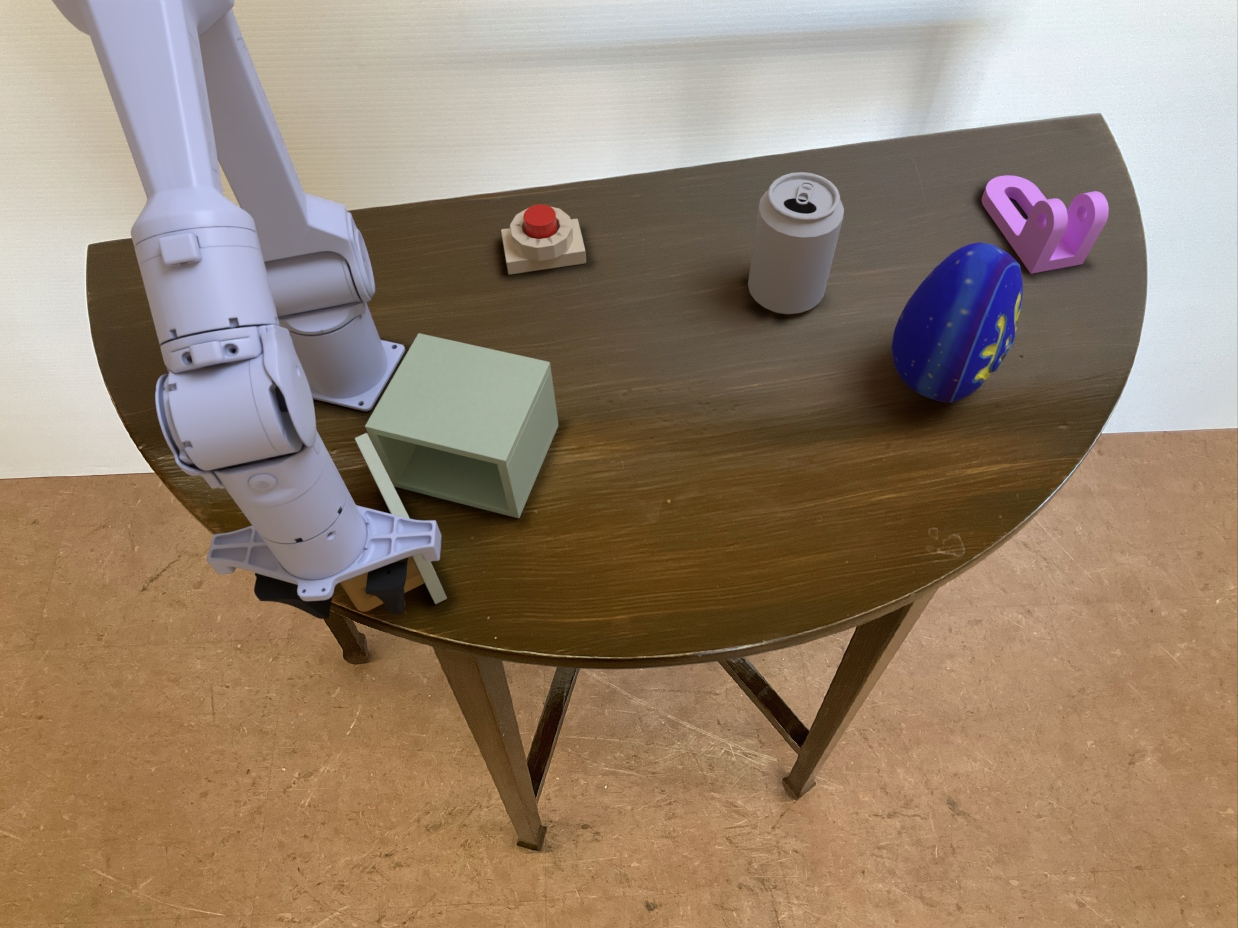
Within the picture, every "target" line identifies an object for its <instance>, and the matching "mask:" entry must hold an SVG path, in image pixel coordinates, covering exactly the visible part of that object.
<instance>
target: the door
mask: <svg viewBox="0 0 1238 928" xmlns="http://www.w3.org/2000/svg"><path fill="white" fill-rule="evenodd" d="M354 441H355V442H356V444H357V447H358V449H359V450H360V451H359V452H360V453H361V455H362V457H363V460H364V461H365V463H366V465H367V467H368V470H369V471H370V474H371V475H372V478H373V480H374V482H375V484H376V486H377V488H378V490H379V492H380V494H381V496H382V498H383V501H384V502H385V505H386V506H387V508H388V510H389V514H393V515H397V516H400V517H404V518H409V519H411V518H410V516H409V514H408V512H407V510H406V508H405V506H404V504H403V502H402V500H401V498H400V496H399V494H398V492H397V490H396V487H394V486H393V484H392V482H391V480H390V478H389V476H388V474H387V472H386V470H385V468H384V466H383V464H382V462H381V460H380V458H379V456H378V454H377V452H376V450H375V448H374V446H373V443H372V441H371V439H370V437H369V435H368V432H365V433H363V434H360V435H359V436H356V437H354ZM367 575H368V572H366V573H364V574H361V575H358V576H356V577H353V578H350V579H348V580H345V581H342V582H340V583H339V584H340V586H341V588H342V589H343V591H344V592H345V593H346V595H347V597H348V598H349V600H350V601H351V603H352V604H353V605H354V607H355V609H357V611H359V612H363V613H364V612H365V613H366V612H369V611H372V610H373V609H375V608H378V607H379V606H381V605H384V603H383V602H382V601H381V600H380V599H379V598H378V597H376V596H374V595H371V594H366V592H365V590H366V582H367ZM424 584H425V587H426V588H427V591H428V593H429V595H430V596H431V599H432V601H433V602H434V604H435V605H437V604H440V603H442V602H443V601H445V600H447V599H448V597H447V594H446V593H445V590H444V588H443V585H442V583H441V581H440V579H439V577H438V575H437V572H436V571H435V568H434V566H433V564H432V561H424V559H423V557H422V555H421V554H417V555H413V556H410V557H408V564H407V574H406V582H405V586H404V594H406V593H407V592H409V591H412V590H413V589H416V588H418V587H419V586H422V585H424Z"/></svg>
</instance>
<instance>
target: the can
mask: <svg viewBox="0 0 1238 928" xmlns="http://www.w3.org/2000/svg"><path fill="white" fill-rule="evenodd" d="M844 208H845V207H844V205H843V202H842V200H841V194H840V192H839V188H838V187H836V185H835V184H834V183H833V182H832V181H830V180H828V179H827V178H826V177H824V176H821V175H819V174H816V173H812V172H805V171H804V172H803V171H800V172H799V171H798V172H791V173H787V174H784V175H781V176H779V177H777V178H776V179H775V180H773V181H772V182H771V184H770V186H769V187H768V189H767V190H766V191H765V192H764V194H763V195H762V196H761V197H760V200H759V204H758V209H757V216H756V225H755V232H754V238H753V246H752V253H751V258H750V259H751V260H750V265H749V266H750V267H749V274H748V281H747V287H748V291H749V294H750V295H751V297H752V298H753V300H754V301H755V302H757V304H759V305H760V306H762V307H763V308H765V309H767V310H769V311H771V312H774V313H776V314H781V315H792V314H801V313H804V312H807V311H810V310H812V309H813V308H815V307H816V306H817V305H819V304H820V303H821V302H822V299H823V298H824V296H825V293H826V288H827V286H828V282H829V277H830V273H831V270H832V264H833V260H834V256H835V253H836V249H837V245H838V242H839V241H838V240H839V238H840V237H839V236H840V232H841V228H842V225H843V220H844V215H845V209H844Z"/></svg>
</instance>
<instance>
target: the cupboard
mask: <svg viewBox="0 0 1238 928" xmlns="http://www.w3.org/2000/svg"><path fill="white" fill-rule="evenodd" d="M551 366H552V365H551V362H550V361H547V360H542V359H538V358H535V357H534V358H533V357H529V356H525V355H520V354H515V353H511V352H506V351H501V350H497V349H492V348H488V347H483V346H479V345H474V344H469V343H465V342H460V341H456V340H451V339H448V338H442V337H439V336H438V337H437V336H433V335H429V334H424V333H419V332H418V333H417V334H416V337H414V340H413V342H412V344H411V345H410V347H409V349H408V350H407V352H406V354H405V356H404V357H403V359H402V361H401V363H400V364H399V366H398V368H397V369H396V371H395V373H394V375H393V377H392V378H391V380H390V382H389V384H388V386H387V387H386V389H385V390H384V392H383V394H382V395H381V397H380V399H379V401H378V403H377V404H376V406H375V408H374V409H373V412H372V413H371V414H370V417H369V418H368V420H367V422H366V423H365V425H364V428H365V430H366V433H367V434H368V436H369V438H370V440H371V442H372V444H373V446H374V448H375V450H376V452H377V454H378V456H379V458H380V460H381V462H382V464H383V466H384V468H385V470H386V472H387V474H388V476H389V478H390V480H391V482H392V484H393V486H394V488H398V489H402V490H407V491H410V492H414V493H419V494H421V495H425V496H430V497H433V498H437V499H441V500H445V501H449V502H453V503H457V504H461V505H465V506H468V507H473V508H476V509H481V510H483V511H484V510H485V511H489V512H491V513H496V514H500V515H503V516H507V517H511V518H514V519H515V518H516V519H520V518H521V515H522V513H523V511H524V508H525V506H526V503H527V502H528V499H529V496H530V494H531V491H532V489H533V487H534V485H535V483H536V480H537V477H538V476H539V473H540V471H541V469H542V468H541V467H542V466H543V463H544V461H545V459H546V457H547V454H548V451H549V449H550V446H551V445H552V441H553V440H554V437H555V435H556V432H557V430H558V428H559V417H558V410H557V405H556V404H557V403H556V396H555V388H554V381H553V375H552V367H551Z"/></svg>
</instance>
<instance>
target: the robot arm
mask: <svg viewBox="0 0 1238 928" xmlns="http://www.w3.org/2000/svg"><path fill="white" fill-rule="evenodd" d="M51 1H52V2H53V4H54V5H55V7H56V8H57V9H58V11H59V13H61V15H62V16H63V17H64V18H65V19H66V20H67V22H69V24H71V25H72V26H73V27H74V28H75V29H77V30H78V31H80V32H81V33H83V34H85V35H87V36H89V37H90V40H91V43H92V46H93V48H94V49H93V50H94V51H95V54H96V57H97V60H98V63H99V66H100V69H101V72H102V74H103V77H104V81H105V83H106V86H107V88H108V91H109V95H110V98H111V100H112V103H113V105H114V109H115V111H116V114H117V116H118V120H119V123H120V125H121V128H122V131H123V134H124V136H125V140H126V142H127V146H128V148H129V151H130V153H131V156H132V160H133V162H134V165H135V168H136V170H137V173H138V177H139V179H140V182H141V185H142V188H143V190H144V193H145V196H146V201H145V202H146V203H145V204H144V206H143V208H142V210H141V211H140V213H139V214H138V216H137V218H136V219H135V221H134V222H133V225H132V226H131V228H130V237H131V240H132V244H133V247H134V248H133V249H134V252H135V256H136V259H137V264H138V267H139V271H140V275H141V278H142V282H143V287H144V290H145V294H146V297H147V302H148V305H149V309H150V313H151V317H152V320H153V325H154V329H155V333H156V336H157V340H158V343H159V349H160V352H161V356H162V360H163V362H164V365H165V367H166V370H167V372H168V373H164V374H162V375H160V376H159V378H158V379H157V381H156V385H155V391H154V393H155V394H154V400H155V410H156V415H157V419H158V423H159V426H160V429H161V433H162V434H163V438H164V440H165V442H166V444H167V446H168V448H169V449H170V451H171V453H172V456H173V458H174V460H175V461H174V462H175V463H176V465H177V466H178V468H179V469H180V470H181V471H182V472H183V473H185V474H187V475H189V476H192V477H199V476H200V477H202V478H203V479H204V481H206V483H207V485H208V486H209V487H210V488H211V489H212V490H214V489H220V490H222V489H225V490H226V492H227V493H228V494H229V496H230V497H231V498H232V500H233V501H234V503H235V504H236V505H237V506H238V508H239V509H240V510H241V513H242V514H243V515H244V516H245V517H246V519H247V520H248V522H249V524H251V525H250V526H247V527H243V528H240V529H237V530H234V531H229V532H222V533H214V534H212V536H211V540H210V544H209V549H208V553H207V556H206V562H207V563H208V565H210V566H211V568H212V569H213V570H214V572H215V573H216V574H217V575H218V576H220V575H221V576H222V575H232V574H234V573H235V572H236V570H237V569H239V570H242V571H247V572H251V573H254V576H255V582H254V587H253V593H254V595H255V597H256V598H257V599H258V601H260V602H272V603H278V604H279V603H280V604H284V605H287V606H291V607H293V608H296V609H299V610H300V611H303V612H305V613H307V614H309V615H310V616H313V617H314V618H317V619H319V620H326V619H329V618H330V613H331V606H332V599H333V596H334V593H335V588H336V586H337V585H338V584H340V582H342V581H345V580H348V579H350V578H353V577H356V576H358V575H361V574H364V573H366V572H368V575H367V582H366V590H365V592H366V594H371V595H374V596H376V597H378V598H379V599H380V600H381V601H382V602H383V605H384V607H385V609H386V610H387V612H388V613H389V614H391V615H401V614H402V613H403V607H404V600H405V593H404V586H405V582H406V574H407V564H408V557H410V556H413V555H417V554H421V555H422V557H423V559H424V561H431V562H439V561H440V560H441V551H442V536H443V535H442V533H441V530H440V528H439V525H438V522H437V520H435V519H434V520H433V519H431V520H430V519H429V520H422V519H414V518H410V517H409V518H410V519H409V518H404V517H400V516H397V515H393V514H391V513H390V512H389V513H388V512H384V511H380V510H378V509H373V508H369V507H366V506H361V505H357V504H356V503H355V501H354V499H353V497H352V495H351V493H350V491H349V489H348V487H347V486H346V483H345V481H344V480H343V478H342V476H341V474H340V472H339V469H338V468H337V466H336V465H335V463H334V460H333V459H332V457H331V455H330V453H329V450H328V449H327V447H326V445H325V443H324V440H322V437H321V436H320V434H319V432H318V430H317V422H316V421H317V419H316V411H315V405H314V400H316V401H320V402H324V403H329V404H333V405H337V406H342V407H345V408H350V409H354V410H358V411H362V412H370V411H372V409H373V407H374V406H375V404H376V402H377V401H378V400H379V399H378V398H379V397H380V396H381V394H382V392H383V390H384V388H385V387H386V385H387V383H388V382H389V380H390V378H391V376H392V375H393V373H394V371H395V370H396V367H397V366H398V364H399V363H400V361H401V359H402V357H403V356H404V354H405V352H406V348H405V346H404V344H402V343H397V342H392V341H388V340H383V339H381V338H380V334H379V331H378V329H377V327H376V325H375V321H374V319H373V317H372V313H371V310H370V308H369V306H368V303H369V302H371V301H372V298H373V297H374V295H375V293H376V283H375V277H374V276H375V275H374V272H373V267H372V263H371V259H370V255H369V252H368V247H367V246H366V245H367V244H366V243H365V240H364V237H363V235H362V233H361V230H359V229H358V227H357V225H356V223H355V220H354V218H353V214H352V213H351V212H350V211H348V209H347V206H346V205H344V204H343V203H340V202H338V201H334V200H331V199H327V198H325V197H321V196H317V195H315V194H311V193H307V192H305V190H304V187H303V186H302V183H301V180H300V177H299V175H298V173H297V169H296V168H295V165H294V162H293V161H292V158H291V155H290V153H289V150H288V147H287V145H286V142H285V140H284V137H283V135H282V132H281V130H280V126H279V124H278V122H277V120H276V117H275V114H274V111H273V110H272V107H271V104H270V102H269V100H268V96H267V94H266V92H265V89H264V86H263V85H262V81H261V79H260V77H259V74H258V71H257V69H256V65H255V63H254V61H253V59H252V56H251V54H250V53H251V52H250V51H249V48H248V46H247V43H246V41H245V38H244V36H243V34H242V31H241V28H240V26H239V23H238V21H237V18H236V16H235V13H234V11H233V10H234V9H233V7H234V5H235V0H51ZM220 168H221V170H222V172H223V174H224V176H225V178H226V180H227V183H228V185H229V187H230V189H231V191H232V193H233V196H234V197H235V199H236V201H237V203H238V204H236V203H234V202H233V201H232V200H230V199H229V198H228V197H226V196H225V194H224V189H223V184H222V176H221V170H220Z"/></svg>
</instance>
